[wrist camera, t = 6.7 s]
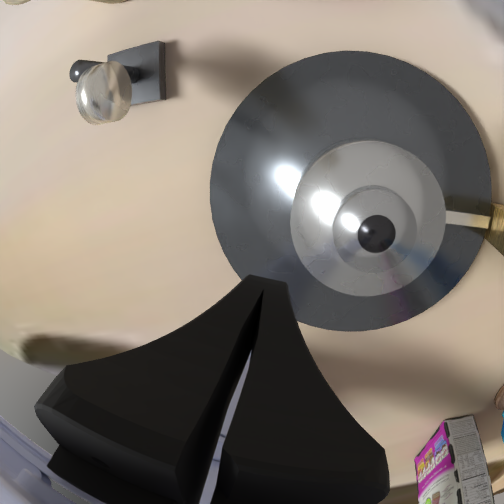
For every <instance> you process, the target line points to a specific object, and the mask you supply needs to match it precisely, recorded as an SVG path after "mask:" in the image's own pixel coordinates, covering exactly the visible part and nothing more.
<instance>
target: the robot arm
mask: <svg viewBox="0 0 504 504" xmlns="http://www.w3.org/2000/svg"><path fill="white" fill-rule="evenodd" d="M34 407H35V412H36V415H37V417H38V418H39V420H40V421H41V423H42V424H43V425H44V427H45V428H46V429H47V431H48V432H49V433H50V434H51V435H52V437H53V438H54V439H55V440H56V441H57V443H58V444H59V447H58V448H57V450H56V452H55V453H54V455H51V454H50V453H48V452H47V451H45V450H44V449H42V448H41V447H39V446H38V445H37V444H35V443H34V442H33V441H31V440H30V439H29V438H27V437H26V436H25V435H24V434H22V433H21V432H20V431H18V430H17V429H16V428H15V427H13V426H12V425H11V424H10V423H9V422H7V421H6V420H5V419H4V418H3V417H2V416H1V415H0V504H76V503H75V502H73V501H71V500H70V499H68V498H66V497H65V496H63V495H62V494H61V493H59V492H58V491H56V490H55V489H53V488H52V486H51V481H50V479H52V480H53V481H55V482H56V483H58V484H59V485H60V486H62V487H64V488H65V489H67V490H68V491H70V492H72V493H73V494H75V495H77V496H78V497H80V498H82V499H83V500H85V501H87V502H89V503H90V504H377V503H379V502H380V501H382V500H383V499H384V498H385V497H386V496H387V495H388V493H389V491H390V481H389V470H388V464H387V459H386V454H385V449H384V448H383V447H382V446H381V445H380V444H379V443H378V442H377V441H376V440H375V439H373V438H372V437H371V436H370V435H369V434H368V433H367V432H366V431H365V430H364V429H363V428H362V427H361V426H360V425H359V424H358V422H357V421H356V420H355V419H354V418H353V417H352V416H351V414H350V413H349V412H348V411H347V410H346V408H345V407H344V406H343V404H342V403H341V402H340V400H339V399H338V397H337V396H336V395H335V393H334V392H333V390H332V389H331V388H330V386H329V385H328V383H327V382H326V380H325V379H324V377H323V375H322V374H321V372H320V370H319V369H318V367H317V365H316V363H315V361H314V360H313V358H312V356H311V354H310V352H309V350H308V348H307V345H306V343H305V341H304V338H303V336H302V334H301V331H300V329H299V326H298V323H297V320H296V317H295V314H294V311H293V308H292V304H291V300H290V295H289V288H288V285H287V283H286V282H283V281H278V280H274V279H269V278H265V277H260V276H255V275H251V274H249V275H247V276H246V277H245V278H244V279H243V280H242V281H241V282H240V283H239V284H238V285H237V286H236V287H235V288H234V289H232V290H231V291H230V292H229V293H228V294H227V295H226V296H224V297H223V298H222V299H221V300H220V301H218V302H217V303H216V304H215V305H213V306H212V307H211V308H209V309H208V310H206V311H205V312H204V313H202V314H201V315H199V316H198V317H196V318H195V319H193V320H192V321H190V322H189V323H187V324H185V325H184V326H182V327H180V328H178V329H177V330H175V331H173V332H171V333H169V334H167V335H165V336H163V337H161V338H159V339H157V340H154V341H152V342H150V343H148V344H145V345H143V346H140V347H138V348H135V349H132V350H129V351H126V352H123V353H120V354H116V355H113V356H110V357H106V358H102V359H98V360H93V361H88V362H83V363H79V364H73V365H67V366H66V367H65V368H64V369H63V370H62V371H61V372H60V373H59V374H58V375H57V376H56V378H55V379H54V380H53V382H52V383H51V384H50V386H49V387H48V388H47V390H46V391H45V392H44V393H43V395H42V396H41V397H40V399H39V400H38V402H37V403H36V404H35V406H34ZM48 477H49V478H50V479H49V478H48Z"/></svg>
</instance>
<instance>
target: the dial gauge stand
mask: <svg viewBox="0 0 504 504" xmlns="http://www.w3.org/2000/svg"><path fill="white" fill-rule="evenodd" d="M70 79H71V80H72V81H73V82H78V83H77V87H76V103H77V107H78V110H79V112H80V114H81V116H82V117H83V118H84V119H85V120H86V121H87V122H88V123H90V124H93V125H100V124H105V123H110V122H115V121H119V120H121V119H122V118H123V117H124V116H125V115H126V114H127V112H128V110H129V108H130V106H133V105H138V104H143V103H149V102H155V101H161V100H166V91H165V43H163V42H161V41H156V42H152V43H148V44H144V45H140V46H137V47H133V48H130V49H126V50H123V51H120V52H117V53H113V54H110V55H108V62H96V61H87V60H78V61H76V62H75V63H74V64H73V65H72V67H71V69H70Z"/></svg>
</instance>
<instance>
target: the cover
mask: <svg viewBox="0 0 504 504" xmlns="http://www.w3.org/2000/svg"><path fill="white" fill-rule="evenodd" d="M445 224H446V208H445V201H444V197H443V194H442V191H441V188H440V186H439V184H438V182H437V180H436V178H435V177H434V175H433V173H432V172H431V171H430V170H429V168H428V167H427V166H426V165H425V164H424V163H423V162H422V161H421V160H420V159H419V158H417V157H416V156H415V155H413V154H412V153H410V152H408V151H406V150H404V149H402V148H400V147H398V146H395V145H393V144H390V143H387V142H385V141H381V140H378V139H373V138H367V137H356V138H349V139H345V140H341V141H338V142H336V143H334V144H331V145H329V146H328V147H326V148H324V149H323V150H321V151H320V152H319V153H318V154H317V155H315V156H314V158H313V159H312V160H311V161H310V162H309V163H308V165H307V166H306V167H305V169H304V170H303V172H302V174H301V176H300V178H299V181H298V184H297V187H296V191H295V195H294V200H293V204H292V209H291V218H290V227H291V235H292V240H293V244H294V247H295V250H296V252H297V254H298V256H299V258H300V260H301V262H302V263H303V265H304V266H305V268H306V269H307V270H308V271H309V272H310V273H311V274H312V275H313V276H314V277H315V278H316V279H317V280H319V281H320V282H321V283H323V284H324V285H326V286H327V287H330V288H332V289H334V290H336V291H339V292H341V293H344V294H349V295H354V296H376V295H382V294H386V293H389V292H392V291H395V290H397V289H400V288H402V287H403V286H405V285H407V284H409V283H410V282H412V281H413V280H414V279H416V278H417V277H418V276H419V275H420V274H421V273H422V272H423V271H424V270H425V269H426V268H427V267H428V266H429V264H430V263H431V262H432V260H433V259H434V257H435V255H436V253H437V252H438V250H439V247H440V245H441V242H442V239H443V235H444V231H445Z"/></svg>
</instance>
